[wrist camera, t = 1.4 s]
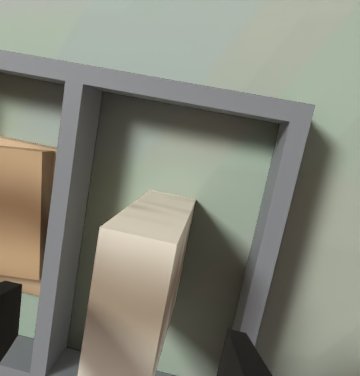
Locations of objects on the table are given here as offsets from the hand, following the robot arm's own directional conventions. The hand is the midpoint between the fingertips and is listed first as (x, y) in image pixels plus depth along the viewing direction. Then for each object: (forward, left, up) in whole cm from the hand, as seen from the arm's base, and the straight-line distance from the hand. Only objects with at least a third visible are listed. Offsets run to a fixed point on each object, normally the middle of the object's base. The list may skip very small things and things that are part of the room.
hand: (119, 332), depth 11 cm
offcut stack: (-1, +11, -11) cm, 15 cm away
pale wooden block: (-1, 0, -11) cm, 11 cm away
